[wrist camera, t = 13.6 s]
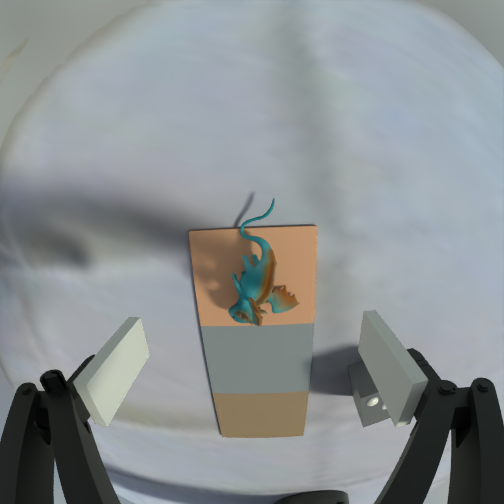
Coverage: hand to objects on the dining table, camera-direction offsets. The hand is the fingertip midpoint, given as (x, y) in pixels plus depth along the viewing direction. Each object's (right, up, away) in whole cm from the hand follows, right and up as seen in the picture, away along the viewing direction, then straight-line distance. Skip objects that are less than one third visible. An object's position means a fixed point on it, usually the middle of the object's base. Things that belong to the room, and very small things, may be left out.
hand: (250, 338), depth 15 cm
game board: (+1, -6, +10) cm, 11 cm away
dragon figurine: (+1, +4, +7) cm, 8 cm away
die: (+13, -8, +10) cm, 18 cm away
